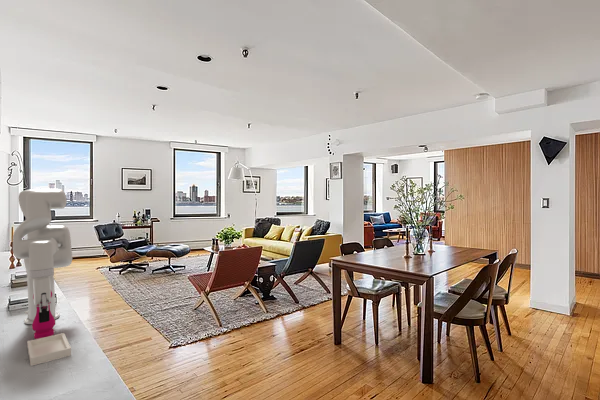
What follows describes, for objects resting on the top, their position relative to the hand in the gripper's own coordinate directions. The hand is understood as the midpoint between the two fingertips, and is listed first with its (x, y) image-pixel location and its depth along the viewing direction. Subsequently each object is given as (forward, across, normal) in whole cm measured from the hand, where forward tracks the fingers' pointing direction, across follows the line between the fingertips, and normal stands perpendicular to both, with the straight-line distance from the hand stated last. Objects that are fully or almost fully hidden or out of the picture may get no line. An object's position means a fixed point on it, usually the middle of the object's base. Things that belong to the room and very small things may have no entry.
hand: (43, 319), depth 136 cm
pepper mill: (+7, 0, 0) cm, 7 cm away
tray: (+7, +17, 0) cm, 19 cm away
